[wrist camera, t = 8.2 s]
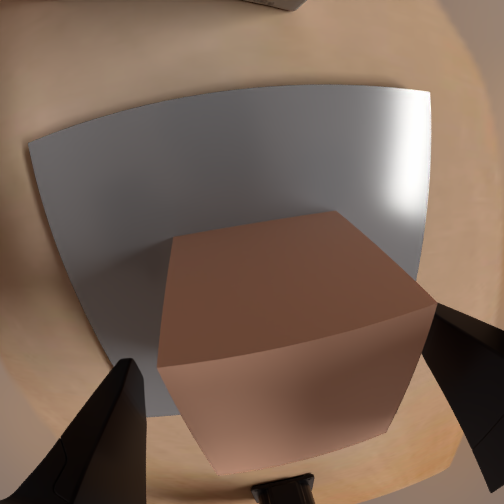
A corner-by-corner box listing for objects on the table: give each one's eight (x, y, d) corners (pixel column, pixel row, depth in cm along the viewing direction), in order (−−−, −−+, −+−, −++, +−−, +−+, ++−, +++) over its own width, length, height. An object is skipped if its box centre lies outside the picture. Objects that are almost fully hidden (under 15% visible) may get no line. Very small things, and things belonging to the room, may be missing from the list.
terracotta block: (331, 330, 13) (386, 432, 8) (205, 356, 12) (217, 475, 7) (336, 210, 10) (437, 302, 5) (173, 237, 10) (156, 367, 5)
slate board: (385, 351, 16) (394, 364, 15) (147, 400, 15) (146, 417, 14) (411, 90, 10) (429, 92, 9) (43, 138, 8) (28, 143, 7)
